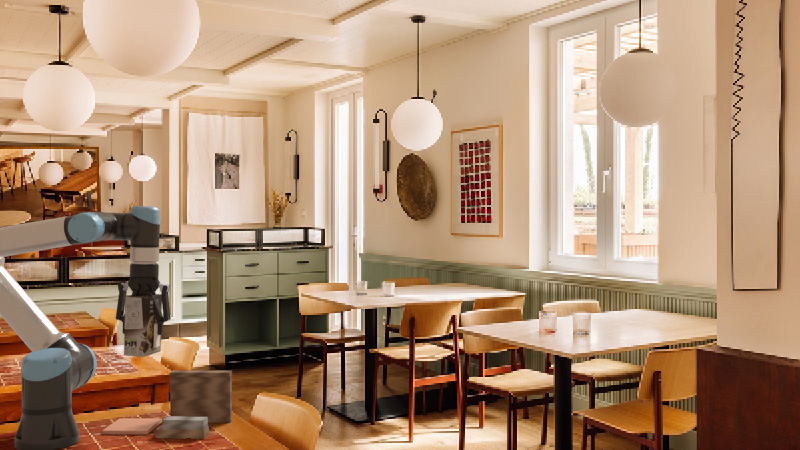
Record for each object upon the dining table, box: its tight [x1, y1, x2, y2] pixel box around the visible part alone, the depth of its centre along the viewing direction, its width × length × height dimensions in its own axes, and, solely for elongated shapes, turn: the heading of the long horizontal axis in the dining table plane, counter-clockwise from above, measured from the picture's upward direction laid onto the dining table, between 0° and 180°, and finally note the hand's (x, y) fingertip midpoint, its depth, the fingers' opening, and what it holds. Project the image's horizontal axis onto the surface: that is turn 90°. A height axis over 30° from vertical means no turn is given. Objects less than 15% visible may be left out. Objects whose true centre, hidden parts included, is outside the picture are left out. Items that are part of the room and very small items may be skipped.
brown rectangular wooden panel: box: [168, 369, 233, 423], centre depth 218 cm, size 17×3×14 cm, turn 89°
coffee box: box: [123, 293, 163, 358], centre depth 212 cm, size 9×6×16 cm
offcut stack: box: [155, 415, 210, 440], centre depth 205 cm, size 13×4×5 cm, turn 85°
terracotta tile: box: [102, 417, 163, 435], centre depth 212 cm, size 12×12×1 cm
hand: (142, 346), depth 212 cm, fingers closed on coffee box, 7 cm apart
